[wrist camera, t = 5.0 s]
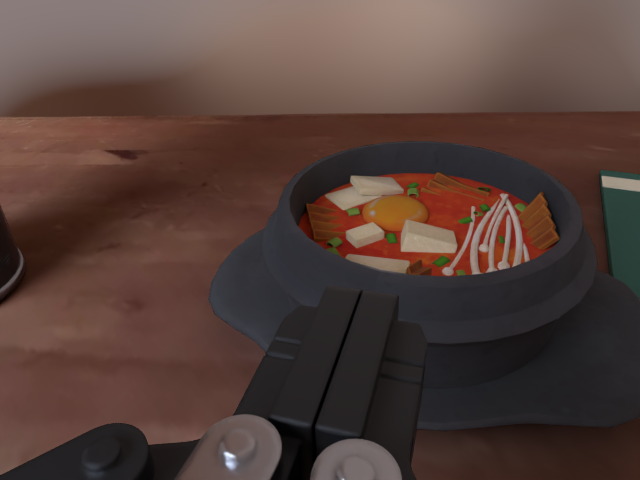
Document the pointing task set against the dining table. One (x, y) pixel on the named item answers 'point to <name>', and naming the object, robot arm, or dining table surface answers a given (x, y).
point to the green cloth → (622, 225)
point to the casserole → (453, 280)
